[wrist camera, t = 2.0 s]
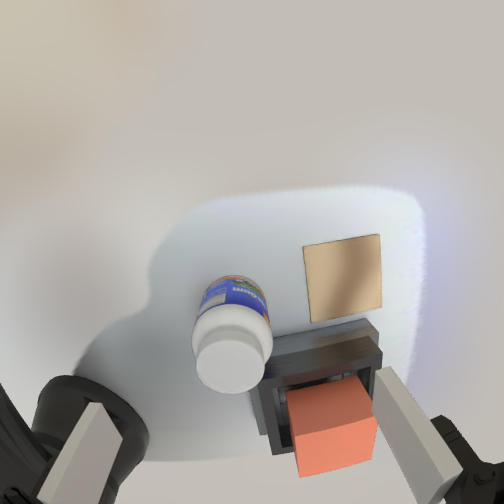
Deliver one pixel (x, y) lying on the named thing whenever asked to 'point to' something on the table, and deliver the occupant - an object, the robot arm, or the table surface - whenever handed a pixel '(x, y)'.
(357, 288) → the coaster
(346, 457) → the orange block
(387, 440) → the robot arm
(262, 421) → the grey square tray
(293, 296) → the table surface
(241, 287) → the pill bottle
